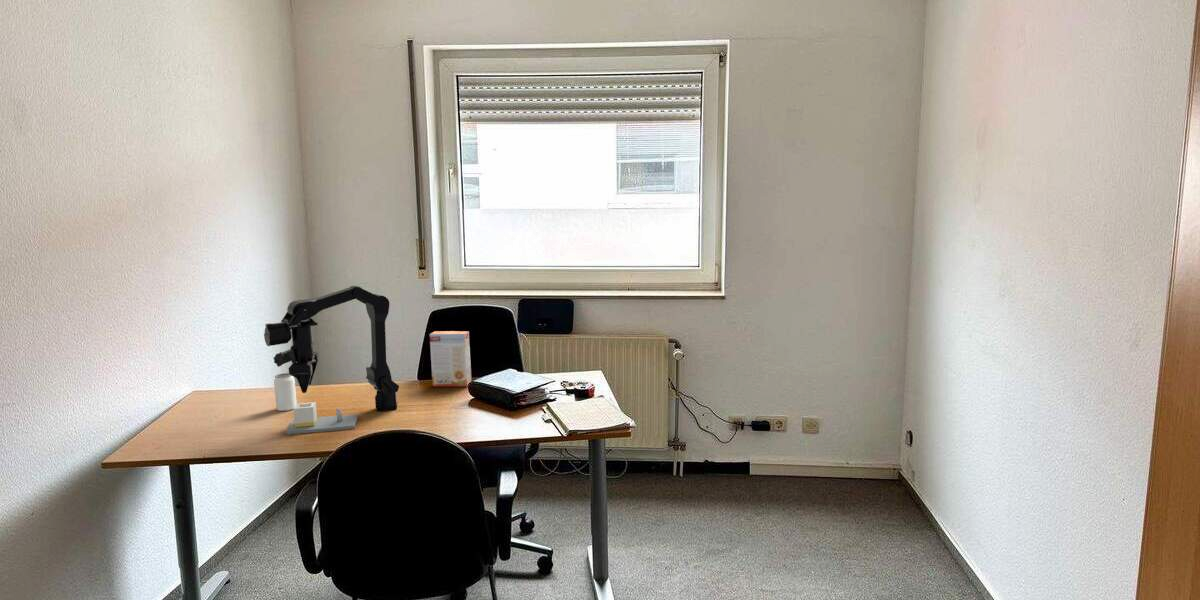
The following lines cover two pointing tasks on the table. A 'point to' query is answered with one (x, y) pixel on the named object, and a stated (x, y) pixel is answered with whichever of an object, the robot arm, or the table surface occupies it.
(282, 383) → the can
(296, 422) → the sleeve
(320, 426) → the board
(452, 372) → the cracker box
